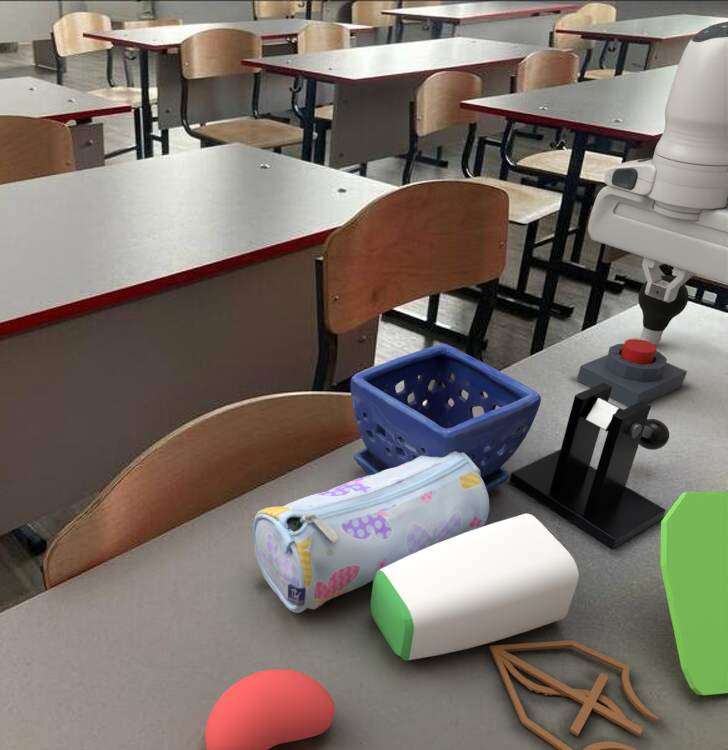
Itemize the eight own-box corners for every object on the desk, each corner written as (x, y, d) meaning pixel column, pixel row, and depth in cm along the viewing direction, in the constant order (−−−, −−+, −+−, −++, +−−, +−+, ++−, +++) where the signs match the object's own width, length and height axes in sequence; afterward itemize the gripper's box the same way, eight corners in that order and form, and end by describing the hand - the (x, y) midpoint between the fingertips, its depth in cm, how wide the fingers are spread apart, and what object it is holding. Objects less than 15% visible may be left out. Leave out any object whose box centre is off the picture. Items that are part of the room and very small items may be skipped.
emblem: (626, 789, 53) (623, 795, 53) (671, 688, 59) (668, 694, 60) (460, 688, 59) (459, 694, 60) (517, 607, 66) (515, 613, 66)
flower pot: (428, 542, 74) (447, 436, 68) (337, 469, 84) (347, 371, 78) (523, 494, 80) (547, 394, 74) (428, 432, 90) (443, 338, 84)
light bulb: (680, 347, 108) (703, 279, 103) (656, 358, 106) (678, 289, 101) (640, 331, 113) (660, 265, 108) (616, 341, 110) (635, 274, 105)
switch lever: (635, 442, 84) (651, 416, 84) (663, 457, 82) (680, 430, 82) (578, 420, 75) (595, 391, 75) (608, 437, 73) (626, 406, 72)
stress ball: (325, 685, 52) (322, 645, 58) (192, 710, 52) (202, 668, 59) (343, 761, 52) (338, 713, 58) (210, 785, 53) (218, 735, 59)
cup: (366, 552, 63) (524, 504, 67) (359, 611, 67) (509, 563, 71) (414, 623, 57) (584, 567, 61) (403, 684, 61) (563, 627, 65)
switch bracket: (558, 457, 86) (583, 362, 80) (662, 519, 77) (699, 417, 71) (508, 482, 82) (531, 383, 76) (612, 549, 73) (647, 444, 68)
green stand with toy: (802, 489, 66) (740, 500, 72) (651, 493, 63) (599, 504, 69) (852, 680, 62) (782, 676, 68) (693, 696, 59) (633, 689, 64)
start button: (632, 348, 100) (635, 336, 99) (658, 360, 98) (662, 347, 97) (614, 355, 98) (618, 343, 98) (641, 367, 96) (645, 355, 95)
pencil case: (291, 638, 64) (297, 549, 59) (240, 570, 70) (242, 484, 66) (487, 555, 72) (506, 471, 68) (425, 501, 79) (438, 421, 74)
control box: (624, 360, 105) (632, 333, 103) (682, 386, 99) (691, 358, 97) (576, 380, 100) (583, 352, 98) (634, 409, 95) (643, 380, 93)
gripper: (808, 200, 81) (764, 322, 88) (626, 158, 96) (601, 265, 103) (776, 212, 78) (733, 337, 85) (593, 166, 93) (569, 276, 100)
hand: (659, 297), depth 94 cm, fingers closed
